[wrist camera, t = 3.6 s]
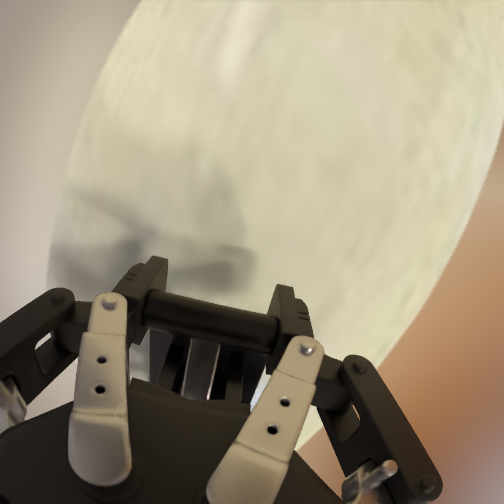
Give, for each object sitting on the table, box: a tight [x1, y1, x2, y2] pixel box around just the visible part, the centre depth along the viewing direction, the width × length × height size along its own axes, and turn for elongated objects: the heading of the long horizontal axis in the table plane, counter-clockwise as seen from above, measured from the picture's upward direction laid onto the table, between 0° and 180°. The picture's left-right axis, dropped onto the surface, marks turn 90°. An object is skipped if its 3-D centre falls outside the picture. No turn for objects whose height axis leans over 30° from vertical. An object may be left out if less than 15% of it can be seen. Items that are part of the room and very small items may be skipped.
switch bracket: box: [150, 329, 266, 405], centre depth 14 cm, size 10×8×13 cm
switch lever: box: [142, 289, 278, 400], centre depth 10 cm, size 12×5×2 cm, turn 169°
